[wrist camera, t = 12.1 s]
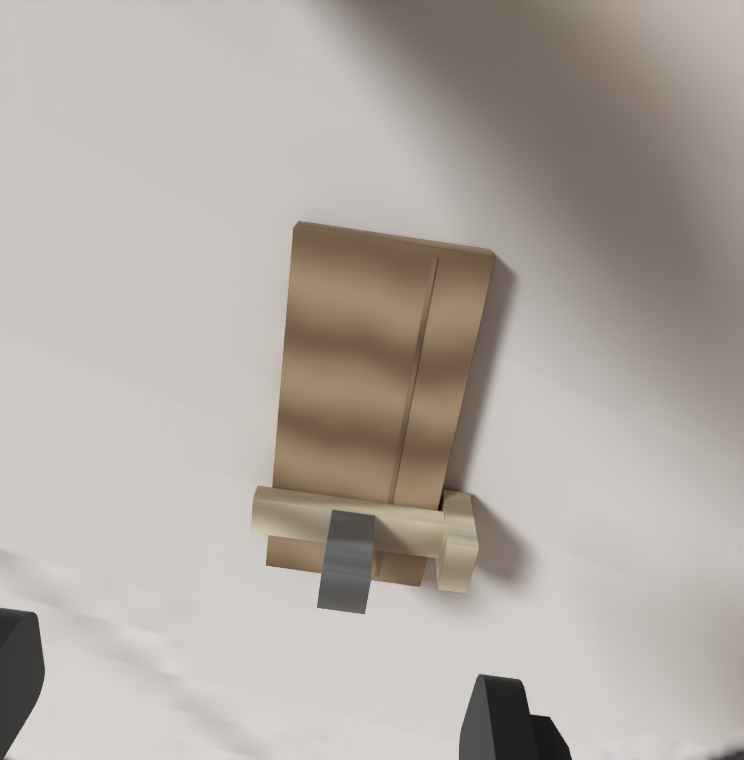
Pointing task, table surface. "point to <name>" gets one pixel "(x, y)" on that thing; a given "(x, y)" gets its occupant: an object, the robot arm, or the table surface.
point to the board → (373, 375)
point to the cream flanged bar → (370, 538)
